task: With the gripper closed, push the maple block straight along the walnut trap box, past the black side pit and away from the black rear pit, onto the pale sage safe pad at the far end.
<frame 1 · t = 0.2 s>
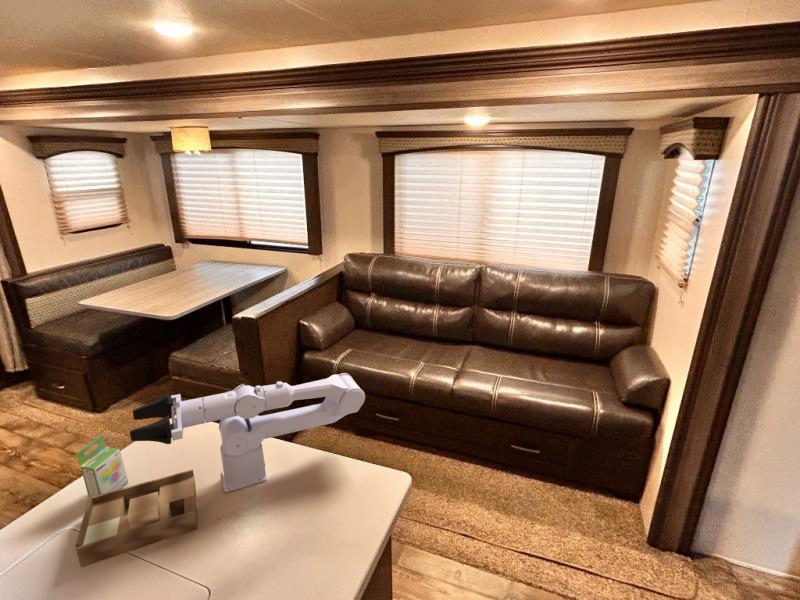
hand: (132, 425, 86), 21 cm above the kitchen counter, tool horizontal, fingers open, 7 cm apart
ink box: (109, 492, 97), on the kitchen counter
trap box: (144, 521, 89), on the kitchen counter
maple block: (146, 519, 86), point 3 cm above the kitchen counter, touching trap box
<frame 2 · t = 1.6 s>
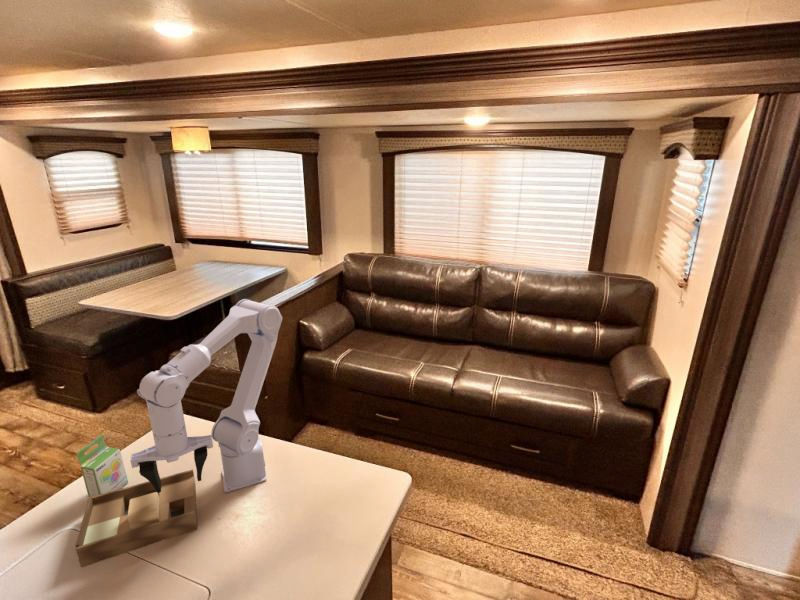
hand: (179, 483, 87), 9 cm above the kitchen counter, tool pointing down, fingers open, 7 cm apart
nothing on the kitchen counter moved.
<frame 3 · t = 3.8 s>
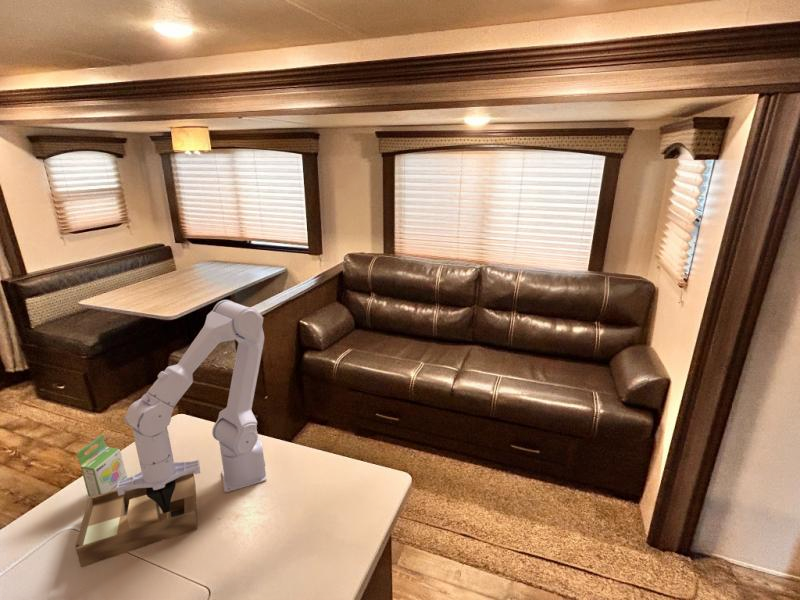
hand: (166, 509, 87), 4 cm above the kitchen counter, tool pointing down, fingers closed
maple block: (146, 519, 86), point 3 cm above the kitchen counter, touching gripper, trap box
everything else where it was.
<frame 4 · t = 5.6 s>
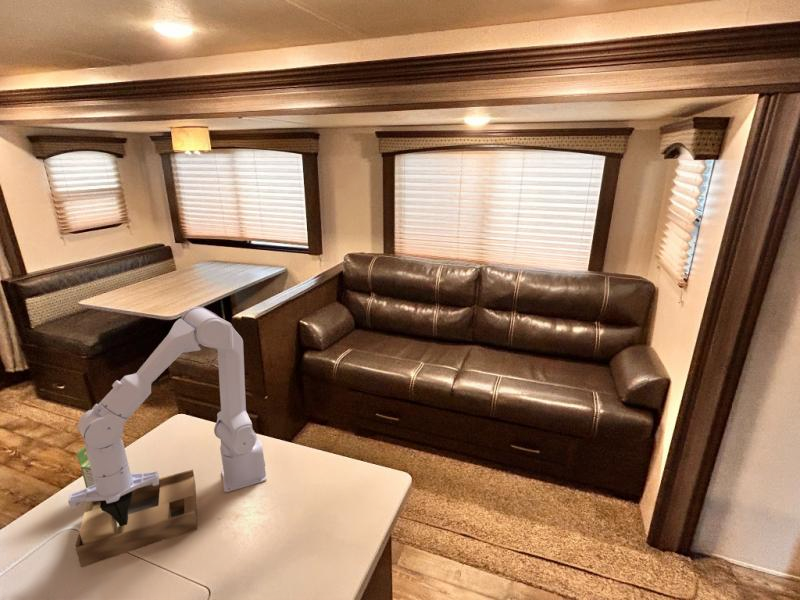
hand: (124, 521, 84), 4 cm above the kitchen counter, tool pointing down, fingers closed
maple block: (101, 533, 83), point 3 cm above the kitchen counter, touching gripper, trap box
everything else where it was.
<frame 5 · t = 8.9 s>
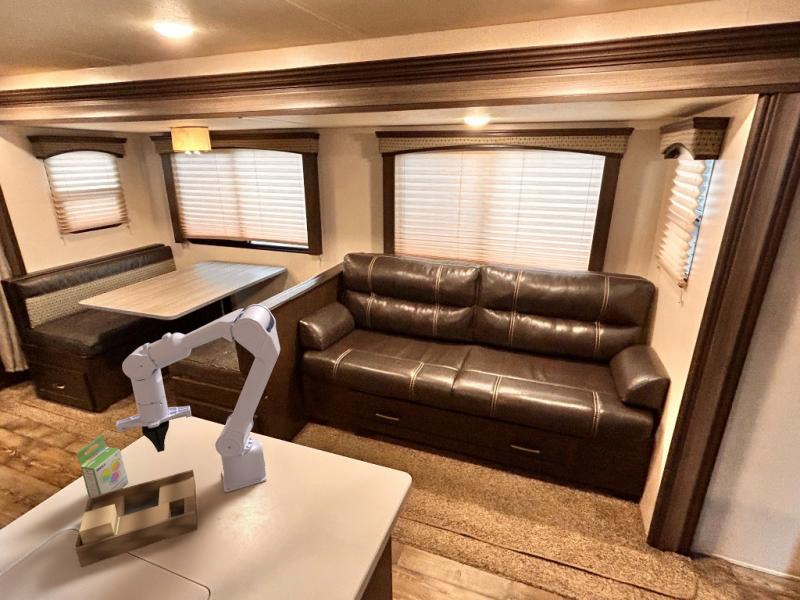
hand: (161, 449, 97), 9 cm above the kitchen counter, tool pointing down, fingers closed
maple block: (101, 533, 83), point 3 cm above the kitchen counter, touching trap box
everything else where it was.
at the end: maple block 0.4 cm from the target spot on the trap box, point 3.0 cm above the trap box's base; maple block tilted 0° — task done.
